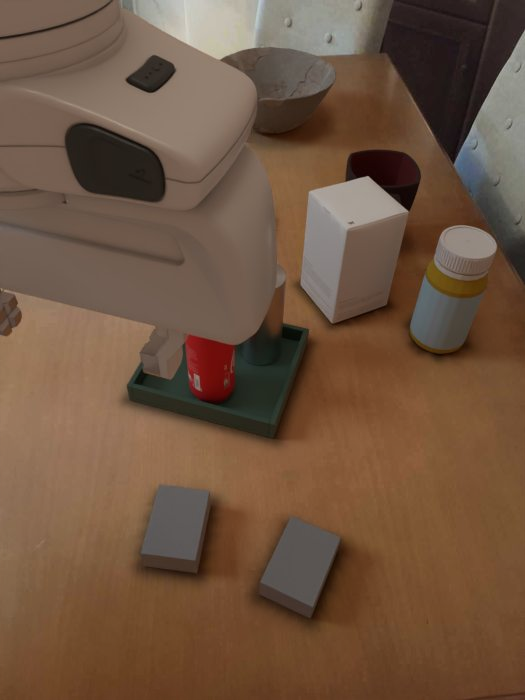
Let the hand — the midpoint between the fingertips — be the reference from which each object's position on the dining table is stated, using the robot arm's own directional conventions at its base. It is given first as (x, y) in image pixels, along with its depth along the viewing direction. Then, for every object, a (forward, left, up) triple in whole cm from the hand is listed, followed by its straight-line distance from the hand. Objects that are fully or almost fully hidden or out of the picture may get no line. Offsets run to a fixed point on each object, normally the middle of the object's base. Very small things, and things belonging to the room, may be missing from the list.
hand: (81, 346), depth 32 cm
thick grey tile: (+1, +5, -31) cm, 32 cm away
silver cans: (-2, +30, -30) cm, 43 cm away
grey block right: (+13, +5, -31) cm, 34 cm away
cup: (+11, +56, -31) cm, 65 cm away
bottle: (+22, +40, -31) cm, 55 cm away
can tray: (-2, +26, -31) cm, 41 cm away
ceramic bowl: (-14, +88, -31) cm, 94 cm away
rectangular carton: (+9, +44, -31) cm, 55 cm away
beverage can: (-2, +22, -31) cm, 38 cm away
